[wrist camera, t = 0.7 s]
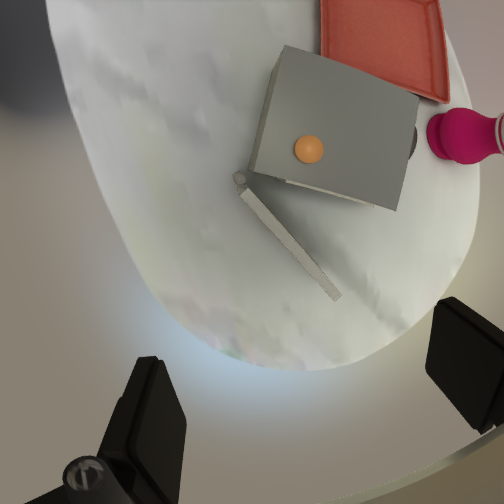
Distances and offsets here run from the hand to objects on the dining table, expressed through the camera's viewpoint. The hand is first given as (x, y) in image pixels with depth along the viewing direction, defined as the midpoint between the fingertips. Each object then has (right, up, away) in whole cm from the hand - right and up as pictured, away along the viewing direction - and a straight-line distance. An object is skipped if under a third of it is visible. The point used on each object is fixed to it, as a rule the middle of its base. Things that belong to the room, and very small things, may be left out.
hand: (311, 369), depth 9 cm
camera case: (+6, +17, +23) cm, 29 cm away
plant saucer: (+15, +32, +20) cm, 40 cm away
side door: (+1, +7, +25) cm, 26 cm away
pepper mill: (+24, +19, +24) cm, 39 cm away
